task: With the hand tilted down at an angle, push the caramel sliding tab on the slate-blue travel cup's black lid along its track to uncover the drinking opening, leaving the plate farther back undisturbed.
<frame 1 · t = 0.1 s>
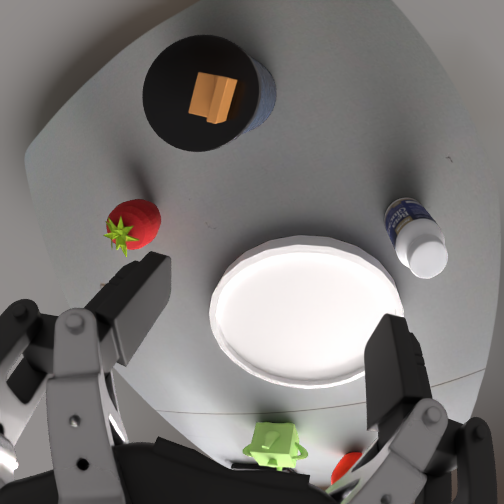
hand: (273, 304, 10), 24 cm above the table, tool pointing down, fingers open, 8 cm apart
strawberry: (154, 207, 37), on the table
teapot: (279, 427, 60), on the table
slider: (208, 96, 17), point 12 cm above the table, slide at 0.0 cm
pill bottle: (403, 217, 31), on the table
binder: (267, 470, 81), on the table
apple: (353, 453, 63), on the table
travel cup: (234, 94, 28), on the table
plate: (306, 320, 41), on the table
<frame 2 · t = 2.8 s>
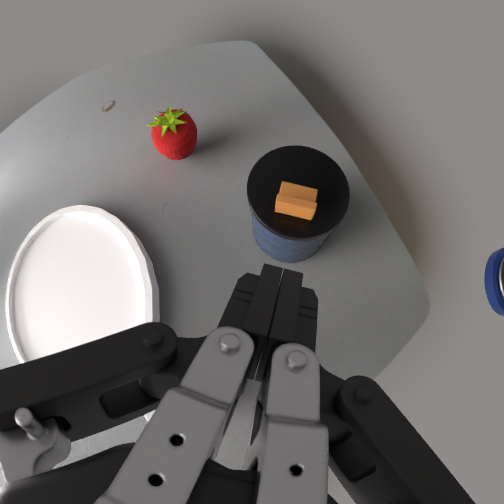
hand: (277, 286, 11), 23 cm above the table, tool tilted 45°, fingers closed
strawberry: (184, 155, 39), on the table
slider: (297, 196, 24), point 12 cm above the table, slide at 0.0 cm
travel cup: (289, 227, 36), on the table
plate: (73, 304, 35), on the table
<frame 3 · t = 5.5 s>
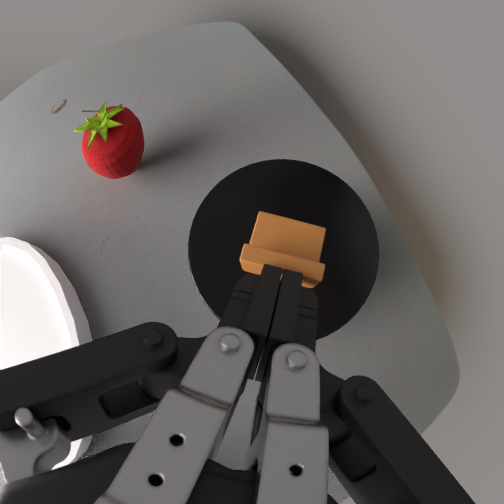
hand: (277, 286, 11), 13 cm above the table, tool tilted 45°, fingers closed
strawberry: (133, 169, 28), on the table
slider: (286, 244, 12), point 12 cm above the table, slide at 1.1 cm, touching gripper
travel cup: (274, 280, 24), on the table
plate: (10, 358, 23), on the table
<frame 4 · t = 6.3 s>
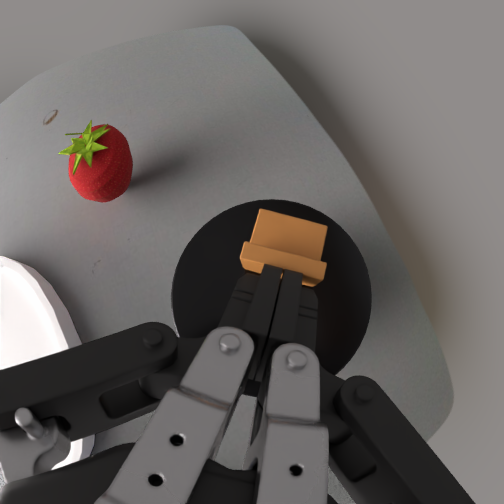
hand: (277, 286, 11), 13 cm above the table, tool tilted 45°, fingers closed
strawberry: (124, 188, 27), on the table
slider: (288, 242, 12), point 12 cm above the table, slide at 3.7 cm, touching gripper
travel cup: (267, 308, 24), on the table
plate: (9, 375, 22), on the table
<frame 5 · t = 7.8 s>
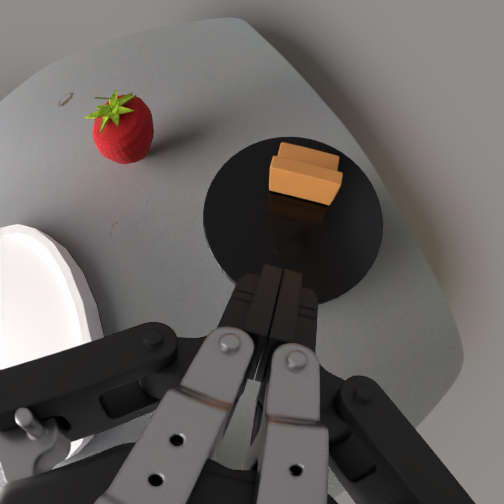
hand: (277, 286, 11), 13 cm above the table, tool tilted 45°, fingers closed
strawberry: (142, 157, 28), on the table
slider: (307, 163, 13), point 12 cm above the table, slide at 3.6 cm
travel cup: (281, 259, 25), on the table
plate: (16, 346, 23), on the table
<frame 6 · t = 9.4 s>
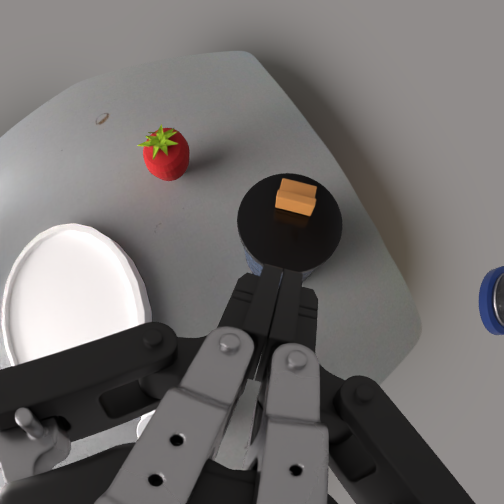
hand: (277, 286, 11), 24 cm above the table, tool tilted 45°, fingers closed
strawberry: (177, 174, 39), on the table
slider: (297, 192, 24), point 12 cm above the table, slide at 3.6 cm
travel cup: (281, 251, 36), on the table
plate: (68, 322, 34), on the table
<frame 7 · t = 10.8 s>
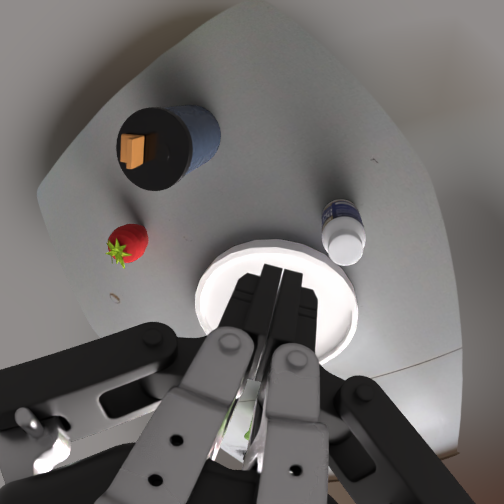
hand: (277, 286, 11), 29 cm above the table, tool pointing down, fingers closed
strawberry: (144, 228, 47), on the table
slider: (127, 150, 27), point 12 cm above the table, slide at 3.6 cm
pill bottle: (340, 216, 39), on the table
travel cup: (190, 135, 38), on the table
plate: (276, 310, 50), on the table
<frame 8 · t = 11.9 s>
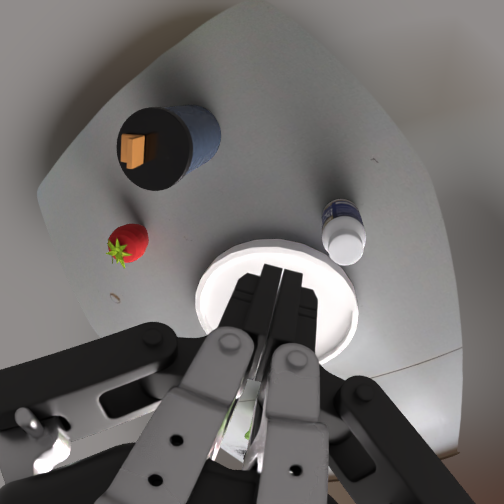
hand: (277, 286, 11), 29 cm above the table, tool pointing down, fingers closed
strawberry: (144, 228, 47), on the table
slider: (127, 150, 27), point 12 cm above the table, slide at 3.6 cm
pill bottle: (340, 215, 39), on the table
travel cup: (190, 135, 38), on the table
plate: (276, 310, 50), on the table
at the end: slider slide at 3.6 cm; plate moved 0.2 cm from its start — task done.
